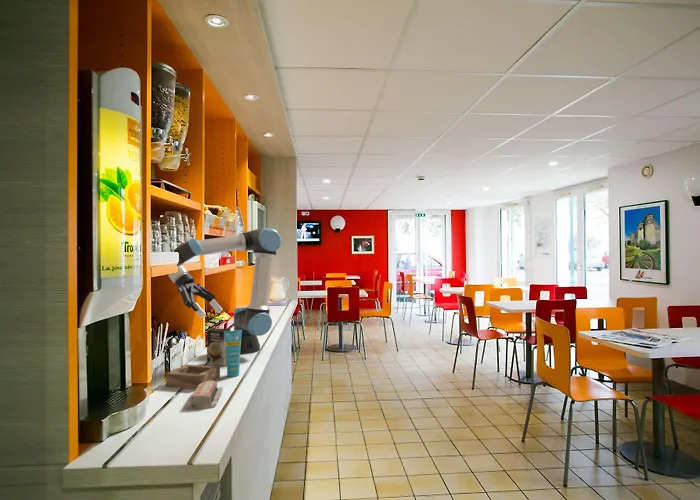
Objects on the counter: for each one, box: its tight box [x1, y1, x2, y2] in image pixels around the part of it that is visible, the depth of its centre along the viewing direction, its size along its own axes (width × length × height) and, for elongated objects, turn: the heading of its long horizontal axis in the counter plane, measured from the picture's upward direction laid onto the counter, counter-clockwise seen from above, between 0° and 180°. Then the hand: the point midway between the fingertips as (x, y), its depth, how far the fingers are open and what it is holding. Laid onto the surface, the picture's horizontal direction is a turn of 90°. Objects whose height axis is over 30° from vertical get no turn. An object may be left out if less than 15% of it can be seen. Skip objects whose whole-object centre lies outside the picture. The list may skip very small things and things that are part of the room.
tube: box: [224, 330, 242, 378], centre depth 176 cm, size 7×5×19 cm, turn 123°
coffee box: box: [206, 327, 232, 367], centre depth 195 cm, size 9×6×16 cm
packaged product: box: [185, 380, 224, 410], centre depth 149 cm, size 18×5×10 cm
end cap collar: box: [165, 364, 221, 390], centre depth 167 cm, size 14×16×5 cm
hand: (212, 313), depth 179 cm, fingers open, 13 cm apart
